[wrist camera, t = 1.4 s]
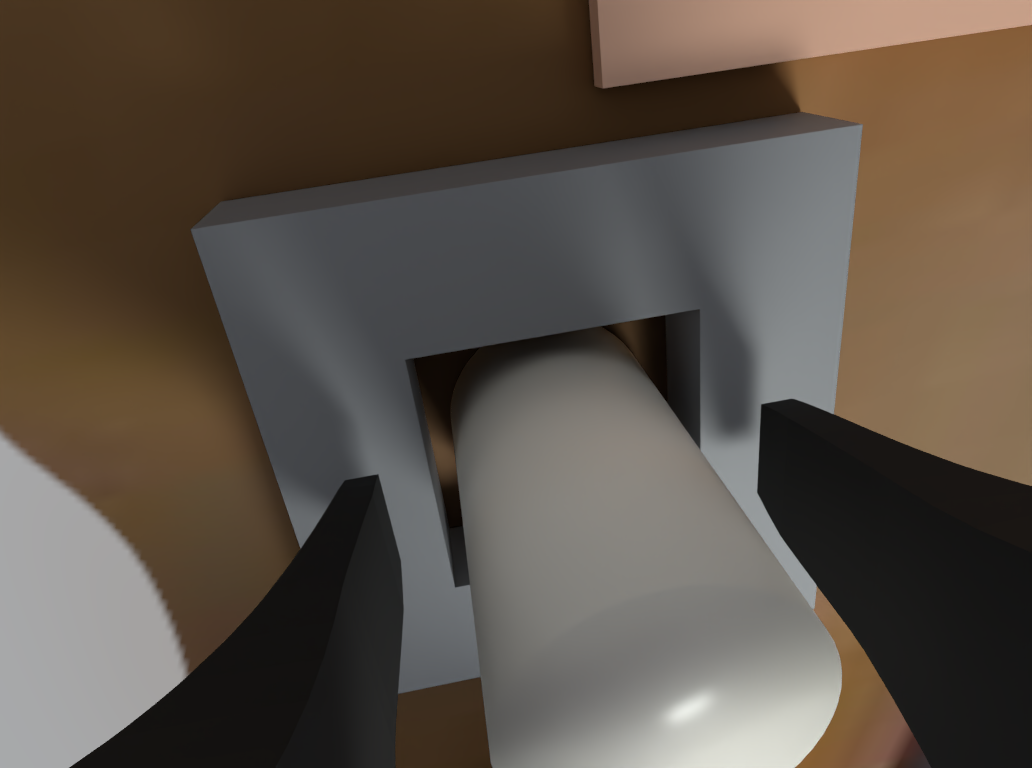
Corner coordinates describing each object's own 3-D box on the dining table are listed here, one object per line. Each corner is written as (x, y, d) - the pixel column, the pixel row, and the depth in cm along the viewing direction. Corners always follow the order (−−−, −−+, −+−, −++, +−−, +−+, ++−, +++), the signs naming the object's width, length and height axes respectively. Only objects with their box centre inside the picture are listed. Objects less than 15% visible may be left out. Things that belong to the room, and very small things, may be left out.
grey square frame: (775, 553, 18) (814, 608, 17) (358, 635, 18) (353, 703, 16) (802, 112, 13) (862, 124, 12) (220, 201, 13) (190, 229, 11)
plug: (648, 472, 17) (826, 795, 10) (467, 506, 16) (513, 865, 9) (641, 301, 15) (859, 549, 8) (433, 336, 14) (460, 629, 7)
